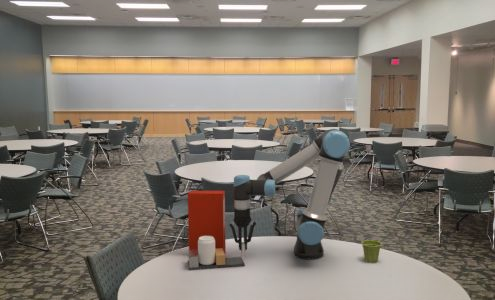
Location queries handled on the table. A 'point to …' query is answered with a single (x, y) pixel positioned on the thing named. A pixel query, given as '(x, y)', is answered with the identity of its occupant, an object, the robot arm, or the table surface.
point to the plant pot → (371, 250)
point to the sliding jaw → (219, 256)
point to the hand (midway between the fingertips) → (243, 256)
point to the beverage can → (206, 250)
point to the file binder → (206, 217)
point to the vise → (229, 262)
